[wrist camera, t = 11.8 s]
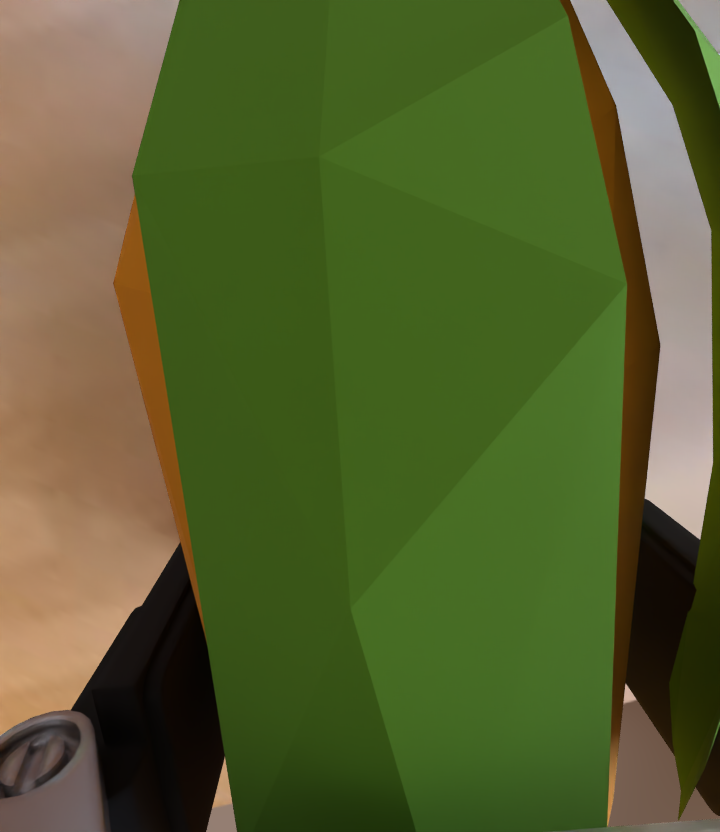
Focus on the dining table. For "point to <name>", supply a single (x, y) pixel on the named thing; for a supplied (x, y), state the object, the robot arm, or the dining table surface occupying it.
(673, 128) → the dining table surface
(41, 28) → the dining table surface
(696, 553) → the robot arm
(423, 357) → the corn
